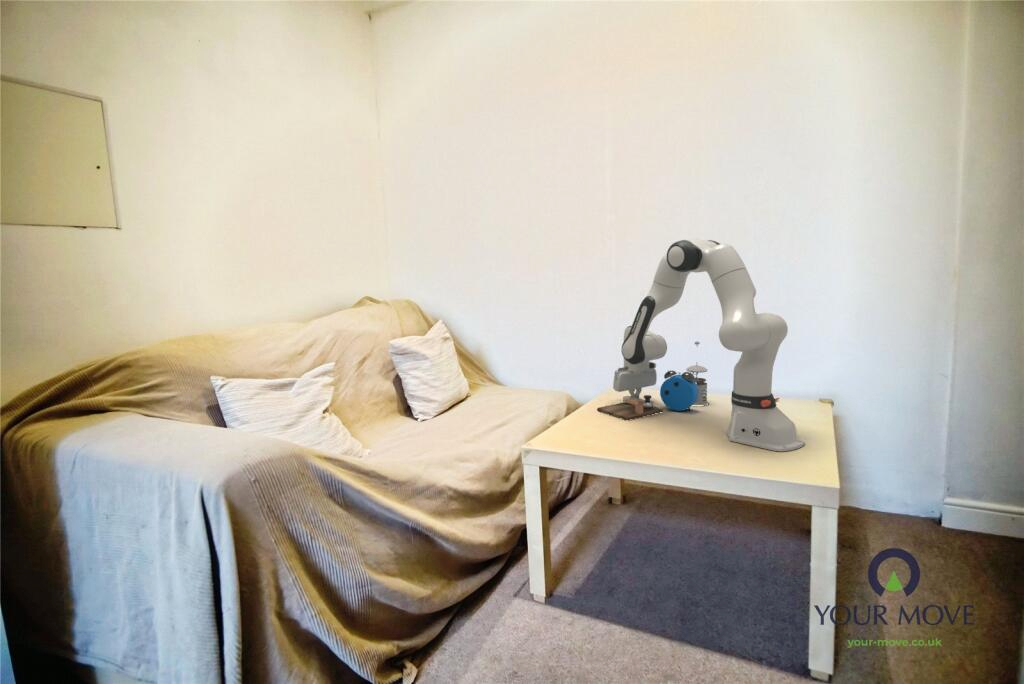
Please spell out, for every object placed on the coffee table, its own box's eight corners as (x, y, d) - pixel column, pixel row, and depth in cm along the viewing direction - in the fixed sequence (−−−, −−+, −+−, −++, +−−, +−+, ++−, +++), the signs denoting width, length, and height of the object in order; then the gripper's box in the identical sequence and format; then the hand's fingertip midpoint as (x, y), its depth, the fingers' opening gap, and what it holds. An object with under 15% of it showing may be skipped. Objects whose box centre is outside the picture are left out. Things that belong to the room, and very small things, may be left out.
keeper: (644, 412, 196) (644, 401, 195) (638, 414, 194) (638, 402, 193) (631, 409, 201) (631, 397, 201) (625, 410, 200) (625, 399, 199)
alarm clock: (698, 410, 201) (699, 371, 199) (693, 414, 196) (693, 374, 194) (665, 405, 209) (665, 368, 207) (659, 409, 204) (659, 371, 202)
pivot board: (662, 412, 200) (663, 409, 199) (627, 420, 191) (627, 417, 190) (632, 403, 214) (632, 400, 214) (597, 410, 205) (597, 407, 205)
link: (656, 407, 201) (656, 396, 200) (647, 409, 199) (647, 398, 198) (629, 400, 213) (629, 389, 212) (621, 401, 211) (621, 391, 210)
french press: (684, 406, 207) (685, 343, 204) (681, 398, 218) (682, 338, 215) (711, 406, 205) (712, 342, 201) (707, 399, 216) (708, 338, 213)
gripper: (620, 369, 202) (620, 404, 204) (659, 363, 213) (659, 396, 214) (609, 367, 208) (609, 401, 210) (647, 361, 218) (647, 393, 220)
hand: (635, 399), depth 212 cm, fingers closed
